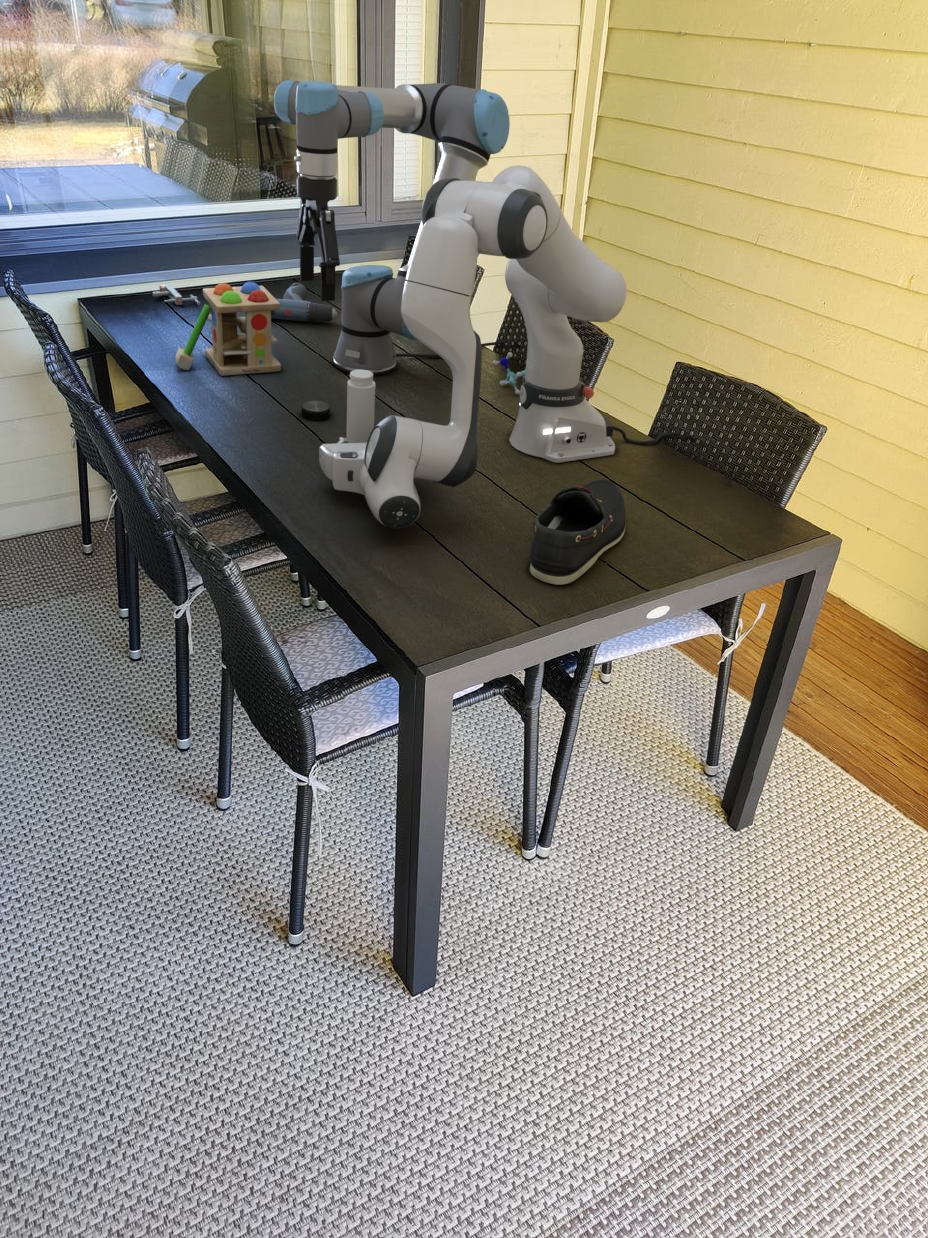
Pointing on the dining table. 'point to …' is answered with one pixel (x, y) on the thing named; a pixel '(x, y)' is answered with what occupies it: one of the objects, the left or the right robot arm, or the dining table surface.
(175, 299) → the clamp
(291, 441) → the dining table surface
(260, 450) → the dining table surface
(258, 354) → the pounding bench toy
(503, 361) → the molecular model
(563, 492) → the boat shoe
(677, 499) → the dining table surface
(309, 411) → the lid
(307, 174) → the left robot arm
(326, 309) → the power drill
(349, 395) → the jar
